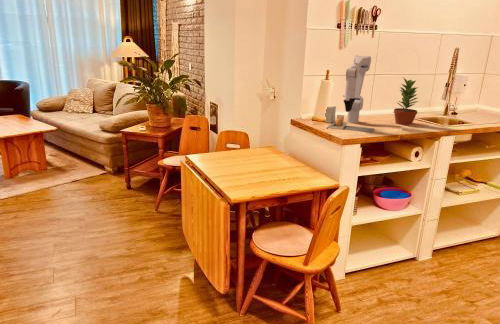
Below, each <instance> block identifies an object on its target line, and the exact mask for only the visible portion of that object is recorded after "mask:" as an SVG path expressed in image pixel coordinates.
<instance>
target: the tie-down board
mask: <svg viewBox="0 0 500 324" xmlns="http://www.w3.org/2000/svg"><path fill="white" fill-rule="evenodd" d="M331 124H332V123H329V125H328V126H327V127H326V130H328V129H333V128H330V125H331ZM334 126H336V125H334ZM340 127H342V126H341V125H340ZM375 129H376V128H373V127H365V126H356V125H346V127H345V128H344V129H341V130H345V131H352V132H353V131H354V132H360V133H361V132H363V133H374V132H375Z"/></svg>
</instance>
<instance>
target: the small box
mask: <svg viewBox="0 0 500 324" xmlns="http://www.w3.org/2000/svg"><path fill="white" fill-rule="evenodd" d="M327 105H328V104H327ZM336 111H337V106H336V105H330V104H329V105H328V107H327V109H326V113H325V117H326V121H325V122H324V123H329V124H332V123H336Z"/></svg>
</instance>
